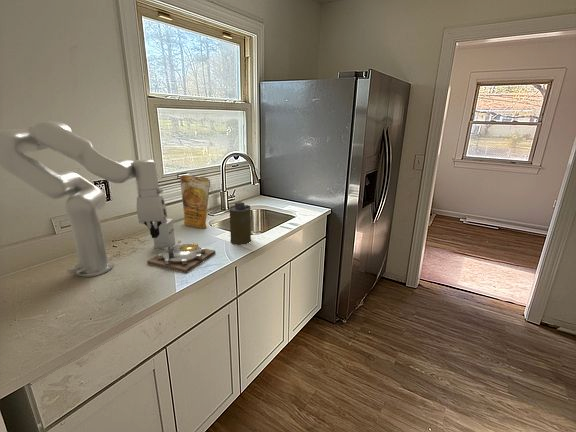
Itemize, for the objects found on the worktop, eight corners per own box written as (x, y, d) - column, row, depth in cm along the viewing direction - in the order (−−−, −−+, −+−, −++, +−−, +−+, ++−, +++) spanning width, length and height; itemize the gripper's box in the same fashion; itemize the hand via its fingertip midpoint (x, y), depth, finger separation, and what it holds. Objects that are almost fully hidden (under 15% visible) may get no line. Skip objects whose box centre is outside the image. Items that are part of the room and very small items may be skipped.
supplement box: (170, 249, 143) (167, 223, 139) (154, 248, 143) (151, 223, 139) (175, 242, 150) (173, 218, 146) (160, 242, 150) (158, 218, 146)
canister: (239, 246, 146) (238, 206, 140) (226, 241, 153) (224, 202, 147) (256, 240, 154) (255, 202, 148) (243, 235, 161) (242, 198, 155)
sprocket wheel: (185, 268, 121) (184, 254, 119) (148, 259, 127) (146, 246, 126) (214, 250, 138) (213, 237, 136) (179, 243, 145) (178, 231, 143)
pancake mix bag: (188, 221, 181) (184, 174, 172) (213, 226, 173) (210, 177, 165) (179, 224, 175) (175, 175, 167) (205, 230, 167) (202, 179, 159)
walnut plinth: (186, 273, 121) (185, 265, 120) (147, 263, 128) (146, 256, 127) (215, 253, 139) (215, 246, 138) (179, 246, 146) (179, 239, 144)
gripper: (171, 190, 121) (177, 233, 126) (133, 190, 120) (140, 233, 126) (164, 194, 114) (171, 240, 119) (124, 195, 113) (132, 240, 119)
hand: (155, 236), depth 123 cm, fingers closed
